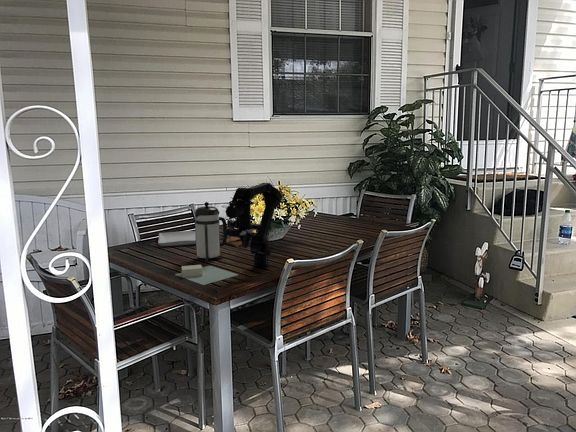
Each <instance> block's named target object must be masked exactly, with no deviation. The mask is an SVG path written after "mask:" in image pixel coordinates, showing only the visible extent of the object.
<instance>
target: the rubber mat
mask: <svg viewBox="0 0 576 432" xmlns="http://www.w3.org/2000/svg"><path fill="white" fill-rule="evenodd" d="M202 268H203V276H192V277H183V276H182V272H180V273H175V274H174V275H175V276H178V277H180V278H183V279H186V280H189V281H191V282H194V283H197V284H200V285H202V286H205V285H208V284H212V283H215V282H219V281H222V280H225V279H229V278H233V277H236V276H239V274H238V273H235V272H232V271H229V270H226V269H222V268H219V267H216V266H212V265H206V266H202Z"/></svg>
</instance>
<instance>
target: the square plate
mask: <svg viewBox="0 0 576 432" xmlns="http://www.w3.org/2000/svg"><path fill="white" fill-rule="evenodd" d="M157 243H158V245H159V246H161V247H175V246H176V247H177V246H189V245H191V246H192V245H196V235H195V230H184V231H182V230H181V231H169V232H159V233H158V240H157Z"/></svg>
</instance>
